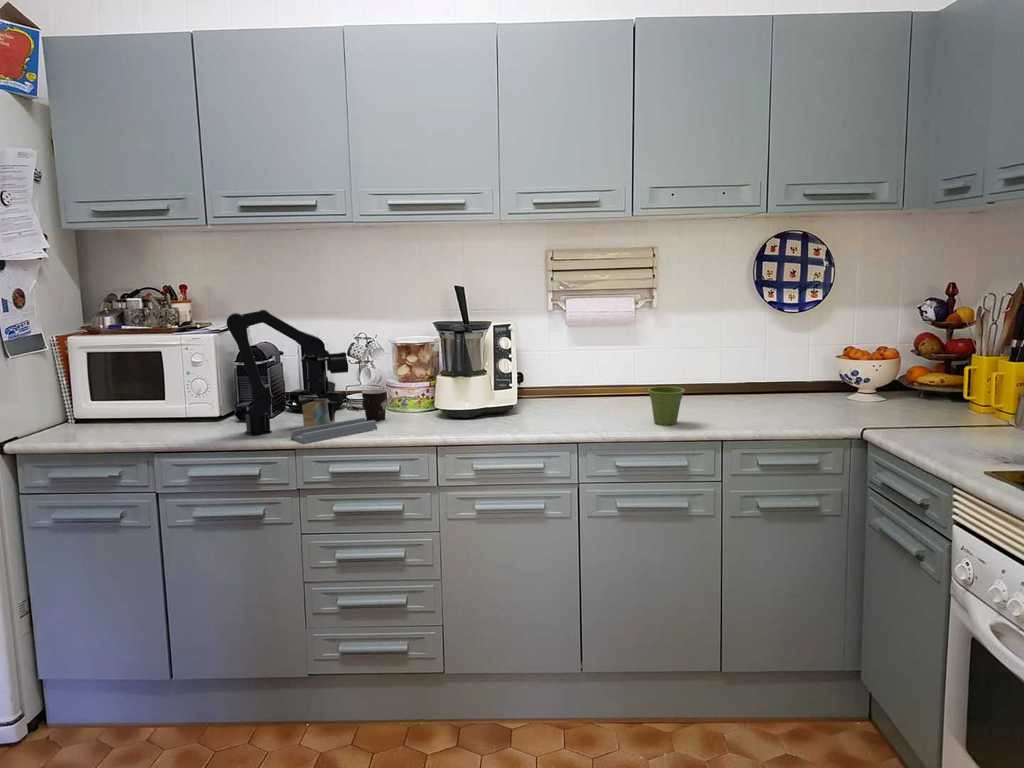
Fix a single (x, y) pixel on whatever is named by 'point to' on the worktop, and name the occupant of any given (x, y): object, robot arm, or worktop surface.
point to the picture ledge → (332, 430)
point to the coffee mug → (374, 404)
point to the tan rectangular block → (316, 413)
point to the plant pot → (665, 404)
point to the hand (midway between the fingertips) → (319, 420)
